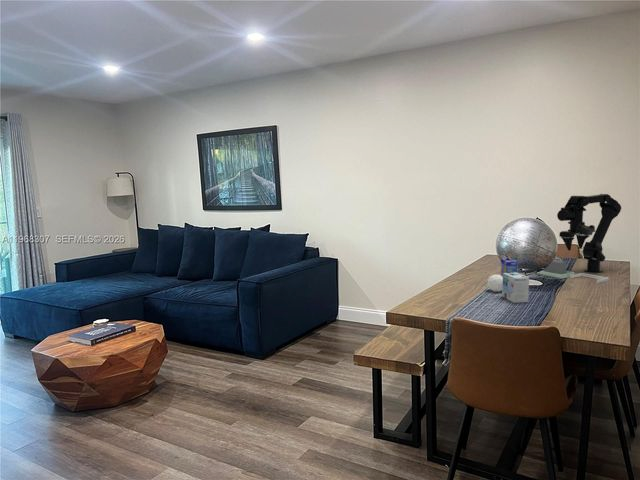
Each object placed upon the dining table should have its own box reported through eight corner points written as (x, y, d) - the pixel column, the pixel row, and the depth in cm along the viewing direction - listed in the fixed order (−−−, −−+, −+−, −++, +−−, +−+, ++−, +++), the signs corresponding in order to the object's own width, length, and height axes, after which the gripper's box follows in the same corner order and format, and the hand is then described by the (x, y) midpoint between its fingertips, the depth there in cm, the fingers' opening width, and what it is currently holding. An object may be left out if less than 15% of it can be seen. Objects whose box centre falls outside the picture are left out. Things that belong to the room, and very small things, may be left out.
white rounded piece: (491, 280, 220) (517, 286, 213) (485, 292, 216) (511, 299, 209) (490, 269, 215) (517, 275, 208) (483, 281, 211) (510, 288, 204)
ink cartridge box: (499, 281, 231) (500, 253, 229) (511, 281, 231) (512, 253, 229) (505, 286, 222) (506, 256, 220) (517, 286, 221) (518, 256, 219)
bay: (581, 275, 240) (581, 272, 240) (609, 280, 228) (609, 277, 228) (570, 278, 236) (570, 275, 235) (597, 283, 223) (597, 280, 223)
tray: (548, 271, 253) (548, 267, 253) (574, 276, 240) (574, 272, 239) (535, 273, 248) (535, 269, 247) (561, 278, 235) (561, 274, 234)
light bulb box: (501, 296, 204) (502, 272, 203) (516, 295, 205) (516, 271, 203) (513, 303, 194) (514, 277, 192) (529, 302, 194) (529, 277, 193)
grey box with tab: (549, 271, 249) (550, 255, 247) (565, 274, 241) (566, 258, 240) (543, 273, 246) (544, 256, 245) (559, 276, 238) (560, 259, 237)
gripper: (580, 222, 229) (578, 253, 232) (602, 219, 238) (600, 249, 240) (559, 220, 239) (558, 250, 241) (581, 218, 248) (580, 247, 250)
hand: (574, 249), depth 243 cm, fingers open, 9 cm apart
